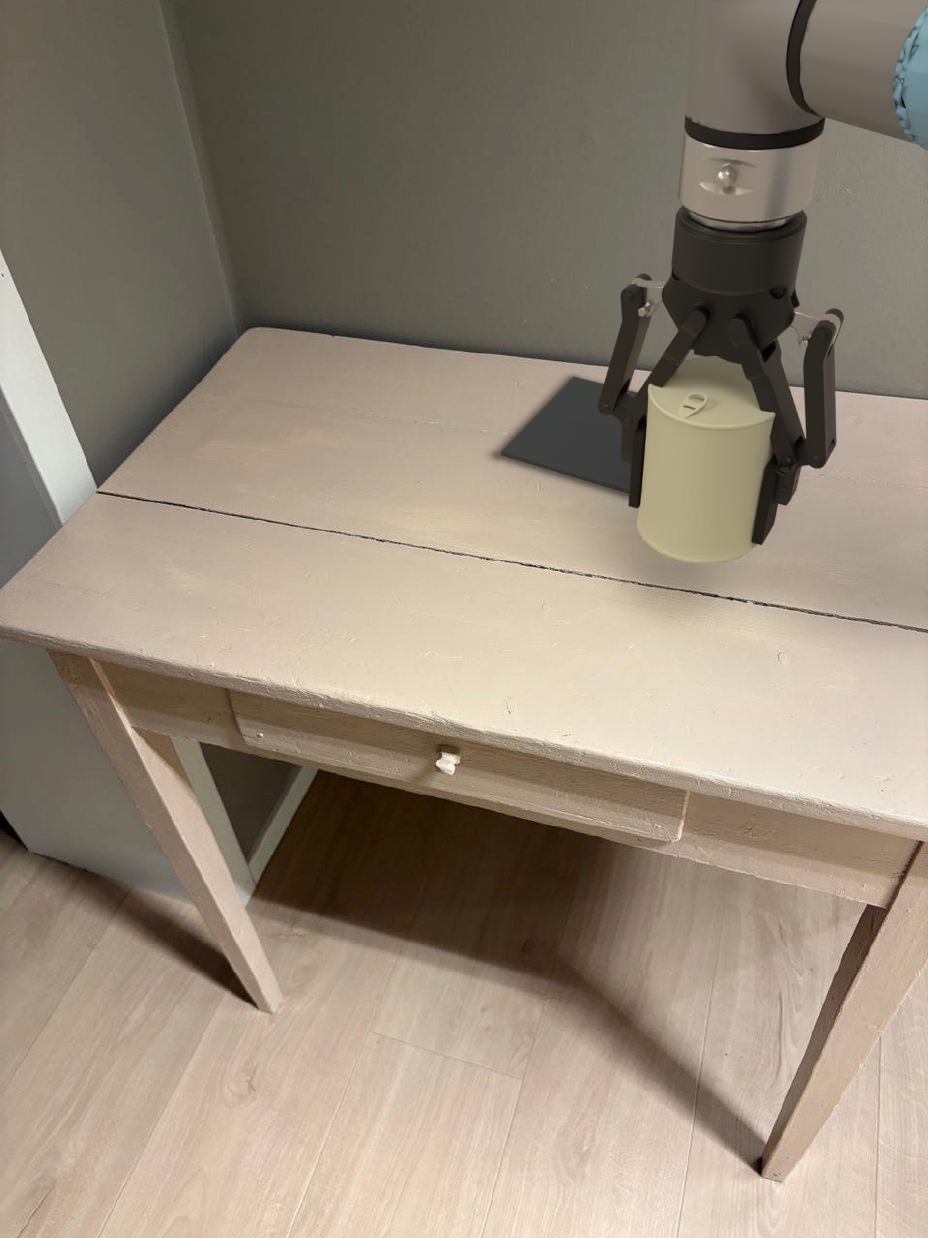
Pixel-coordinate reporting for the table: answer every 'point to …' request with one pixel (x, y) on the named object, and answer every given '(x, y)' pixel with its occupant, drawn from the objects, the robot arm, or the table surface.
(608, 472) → the mat
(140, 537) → the table surface
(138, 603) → the table surface
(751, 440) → the can
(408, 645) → the table surface
